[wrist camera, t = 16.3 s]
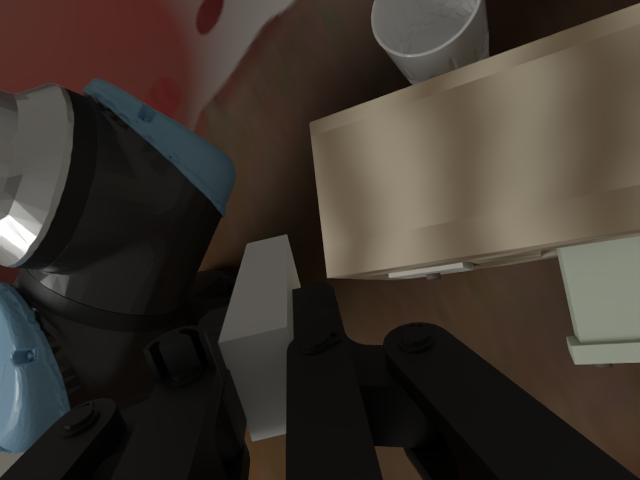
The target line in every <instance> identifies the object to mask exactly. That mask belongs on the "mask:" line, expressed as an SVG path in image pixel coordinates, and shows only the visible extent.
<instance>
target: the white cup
mask: <svg viewBox="0 0 640 480" xmlns="http://www.w3.org/2000/svg"><path fill="white" fill-rule="evenodd" d="M371 24H372V30H373V33H374V36H375V38H376V40H377V41H378V43H379V44H380V45H381V47H382V48H383V49H384V51H385V52H386V53H387V54H388V56H389V57H390V58H391V59H392V61H393V62H394V63H395V65H396V66H397V67H398V68H399V70H400V71H401V72H402V74H403V75H404V76H405V77H406V78H407V79H408V80H409V82H410V83H411V84H412V85H415V84H418V83H420V82H423V81H426V80H429V79H431V78H434V77H437V76H440V75H442V74H445V73H448V72H451V71H453V70H456V69H459V68H462V67H465V66H467V65H470V64H473V63H476V62H478V61H481V60H484V59H487V58H489V57H490V55H489V31H488V18H487V10H486V1H485V0H375V1H374V4H373V8H372V14H371Z"/></svg>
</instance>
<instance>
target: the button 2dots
mask: <svg viewBox="0 0 640 480" xmlns="http://www.w3.org/2000/svg"><path fill="white" fill-rule="evenodd" d="M556 249H557V254H558V259H559V263H560V268H561V273H562V277H563V282H564V286H565V291H566V296H567V300H568V305H569V310H570V314H571V319H572V323H573V328H574V333H575V336H566V338H567V343H568V347H569V352H570V354H571V356H572V359H573V361H574V363H575V364H593V365H594V367H596V368H610V367H613V365H612V363H634V362H640V236H636V237H630V238H623V239H616V240H610V241H603V242H596V243H589V244H583V245H576V246H569V247H563V248H556Z"/></svg>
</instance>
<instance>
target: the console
mask: <svg viewBox="0 0 640 480" xmlns="http://www.w3.org/2000/svg"><path fill="white" fill-rule="evenodd" d="M309 125H310V134H311V142H312V151H313V159H314V168H315V177H316V185H317V194H318V203H319V211H320V220H321V228H322V237H323V246H324V254H325V263H326V272H327V278H344V279H372V280H403V279H402V278H389V275H388V274H389V273H395V272H402V271H409V270H415V269H422V268H429V267H435V266H442V265H449V264H456V263H462V262H469V261H470V262H472V263H473V266H474V269H481V268H488V267H495V266H503V265H510V264H517V263H524V262H531V261H538V260H546V259H553V258H558V254H557V249H556V248H563V247H569V246H576V245H583V244H589V243H596V242H603V241H610V240H616V239H623V238H630V237H636V236H640V3H638V4H636V5H633V6H630V7H627V8H625V9H622V10H619V11H616V12H614V13H611V14H608V15H605V16H602V17H600V18H597V19H594V20H591V21H589V22H586V23H583V24H580V25H578V26H575V27H572V28H569V29H567V30H564V31H561V32H558V33H556V34H553V35H550V36H547V37H545V38H542V39H539V40H536V41H533V42H531V43H528V44H525V45H522V46H520V47H517V48H514V49H511V50H509V51H506V52H503V53H500V54H498V55H495V56H492V57H489V58H487V59H484V60H481V61H478V62H476V63H473V64H470V65H467V66H465V67H462V68H459V69H456V70H453V71H451V72H448V73H445V74H442V75H440V76H437V77H434V78H431V79H429V80H426V81H423V82H420V83H418V84H415V85H412V86H409V87H407V88H404V89H401V90H398V91H396V92H393V93H390V94H387V95H384V96H382V97H379V98H376V99H373V100H371V101H368V102H365V103H362V104H360V105H357V106H354V107H351V108H349V109H346V110H343V111H340V112H338V113H335V114H332V115H329V116H327V117H324V118H321V119H318V120H315V121H313V122H310V123H309Z"/></svg>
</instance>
